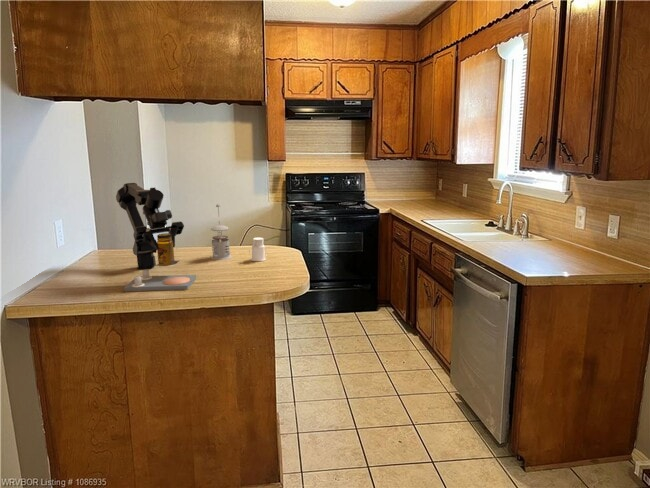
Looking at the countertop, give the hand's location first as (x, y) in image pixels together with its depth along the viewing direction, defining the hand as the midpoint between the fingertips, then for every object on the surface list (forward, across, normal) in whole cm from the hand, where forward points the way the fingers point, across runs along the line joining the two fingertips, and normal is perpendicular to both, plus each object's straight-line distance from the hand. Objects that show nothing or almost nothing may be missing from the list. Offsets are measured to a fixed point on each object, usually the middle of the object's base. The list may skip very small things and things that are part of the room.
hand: (166, 248), depth 185 cm
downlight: (+7, +43, +12) cm, 45 cm away
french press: (-4, +33, +24) cm, 41 cm away
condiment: (+4, +1, +6) cm, 7 cm away
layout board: (+12, -4, +7) cm, 14 cm away
